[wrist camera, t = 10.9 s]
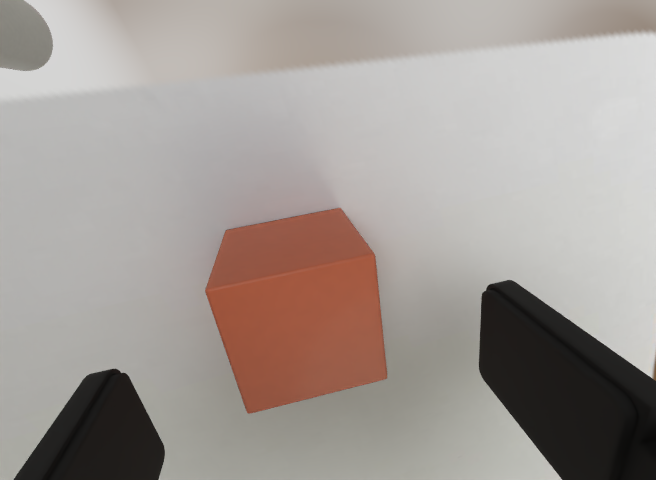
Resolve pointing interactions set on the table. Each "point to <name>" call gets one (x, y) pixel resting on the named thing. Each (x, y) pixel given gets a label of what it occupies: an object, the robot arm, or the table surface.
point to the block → (298, 308)
